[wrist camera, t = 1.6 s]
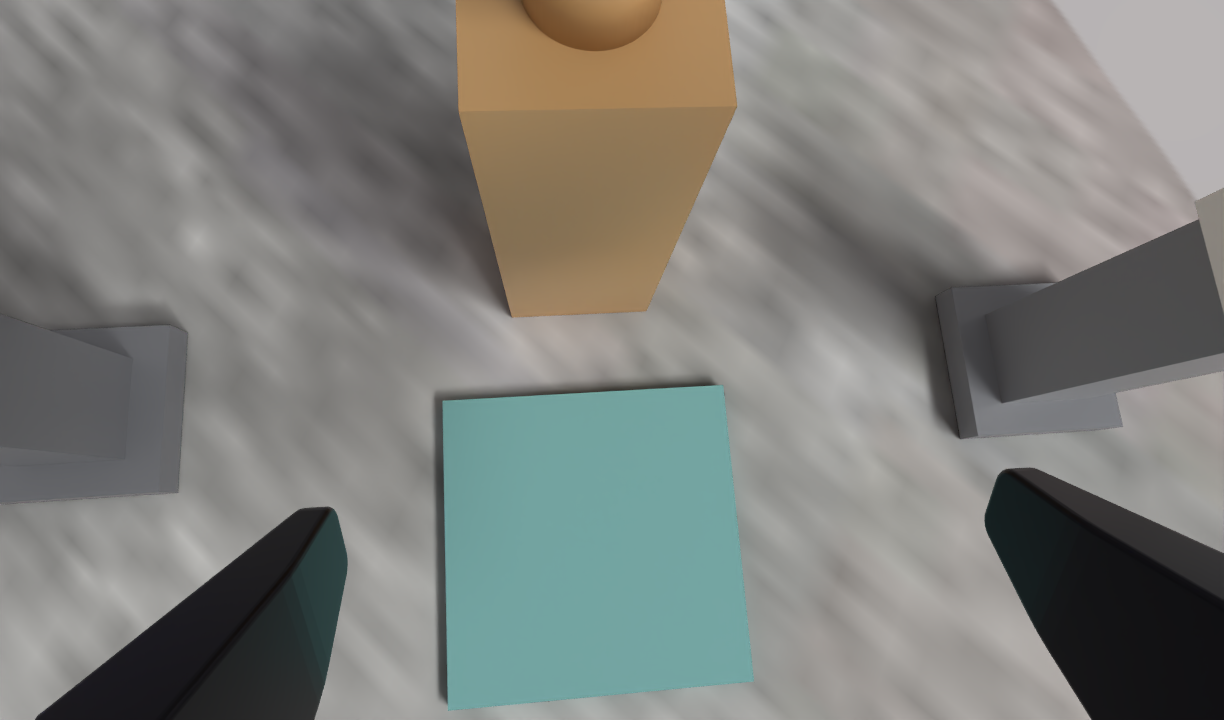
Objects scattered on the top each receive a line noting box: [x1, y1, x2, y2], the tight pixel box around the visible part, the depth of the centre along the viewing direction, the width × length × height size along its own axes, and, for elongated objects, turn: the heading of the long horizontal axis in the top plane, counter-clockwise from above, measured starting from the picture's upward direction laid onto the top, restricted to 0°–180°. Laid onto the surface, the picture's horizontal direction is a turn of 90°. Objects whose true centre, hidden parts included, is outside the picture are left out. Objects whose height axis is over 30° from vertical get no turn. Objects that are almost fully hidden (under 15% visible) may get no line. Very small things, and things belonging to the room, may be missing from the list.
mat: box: [443, 385, 754, 711], centre depth 21 cm, size 9×9×1 cm
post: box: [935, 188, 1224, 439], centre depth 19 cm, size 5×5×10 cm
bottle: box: [456, 0, 737, 317], centre depth 16 cm, size 4×4×15 cm
